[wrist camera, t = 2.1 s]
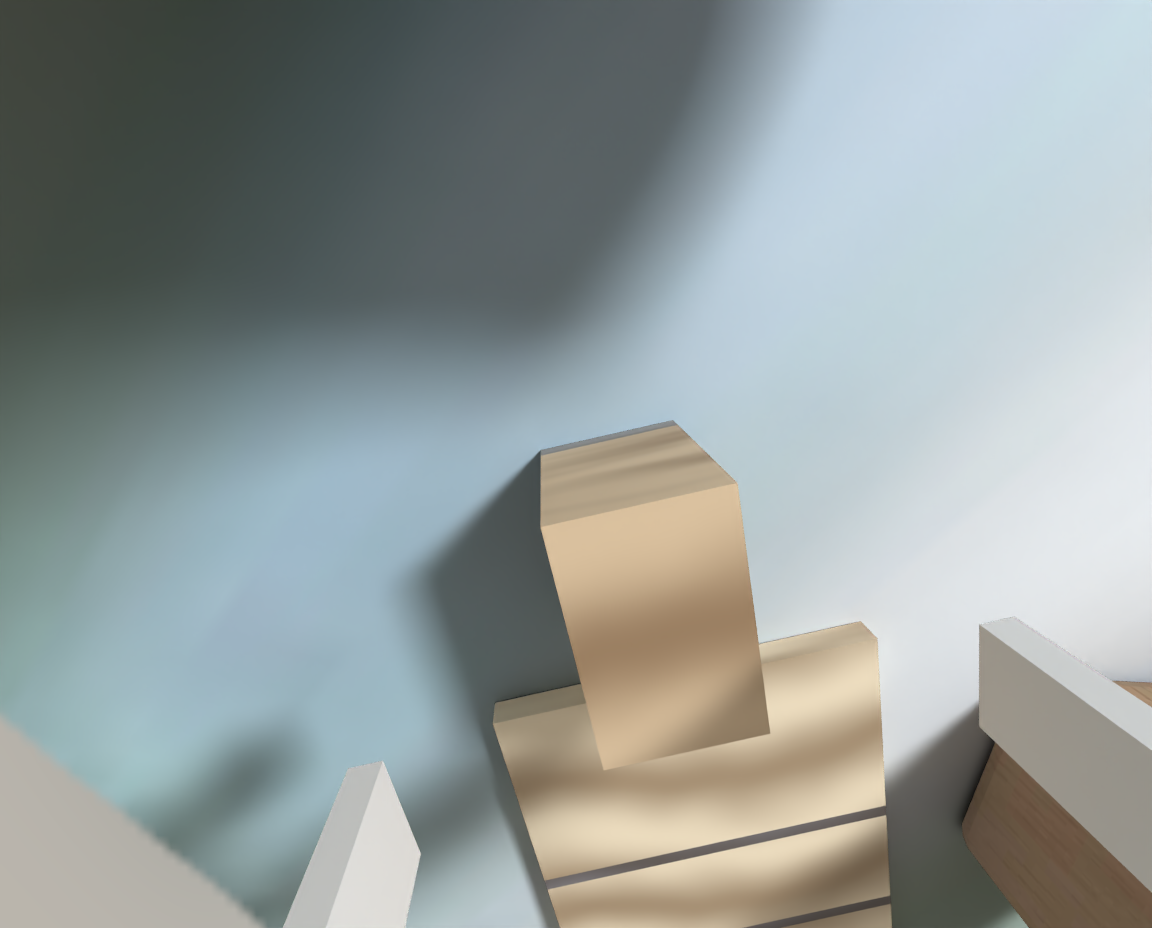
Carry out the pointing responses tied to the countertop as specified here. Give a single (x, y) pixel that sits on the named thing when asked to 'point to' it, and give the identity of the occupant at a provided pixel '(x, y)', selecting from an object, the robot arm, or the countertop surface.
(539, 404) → the countertop surface
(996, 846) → the block
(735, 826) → the board
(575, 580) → the block
